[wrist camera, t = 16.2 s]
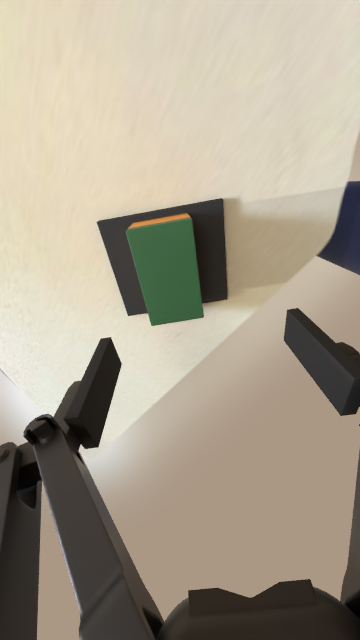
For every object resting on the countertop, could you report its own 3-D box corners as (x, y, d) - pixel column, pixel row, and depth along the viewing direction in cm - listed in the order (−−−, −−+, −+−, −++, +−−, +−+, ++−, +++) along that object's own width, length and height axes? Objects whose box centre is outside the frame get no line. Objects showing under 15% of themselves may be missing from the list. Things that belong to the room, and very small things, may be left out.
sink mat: (221, 198, 27) (222, 198, 26) (226, 297, 34) (227, 299, 34) (98, 221, 28) (96, 221, 27) (128, 313, 35) (128, 316, 34)
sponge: (133, 222, 27) (125, 230, 22) (187, 213, 27) (192, 218, 22) (153, 305, 34) (151, 326, 28) (198, 297, 33) (203, 317, 28)
